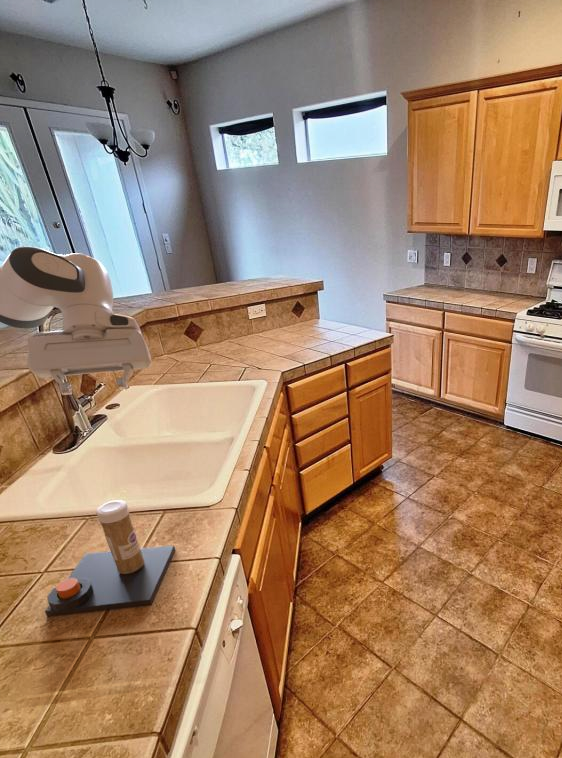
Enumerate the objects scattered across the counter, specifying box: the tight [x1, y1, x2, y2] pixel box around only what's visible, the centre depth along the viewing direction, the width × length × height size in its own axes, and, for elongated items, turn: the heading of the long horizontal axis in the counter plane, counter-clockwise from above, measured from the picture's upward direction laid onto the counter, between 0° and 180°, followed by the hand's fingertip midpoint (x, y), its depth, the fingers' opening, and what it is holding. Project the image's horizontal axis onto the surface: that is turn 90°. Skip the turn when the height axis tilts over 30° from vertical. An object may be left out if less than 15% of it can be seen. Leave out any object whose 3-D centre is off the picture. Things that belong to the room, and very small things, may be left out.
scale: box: [44, 545, 177, 618], centre depth 77 cm, size 16×14×3 cm
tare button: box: [55, 577, 81, 599], centre depth 72 cm, size 3×3×2 cm
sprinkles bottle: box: [95, 499, 145, 574], centre depth 76 cm, size 5×5×14 cm
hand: (95, 390), depth 83 cm, fingers open, 8 cm apart
